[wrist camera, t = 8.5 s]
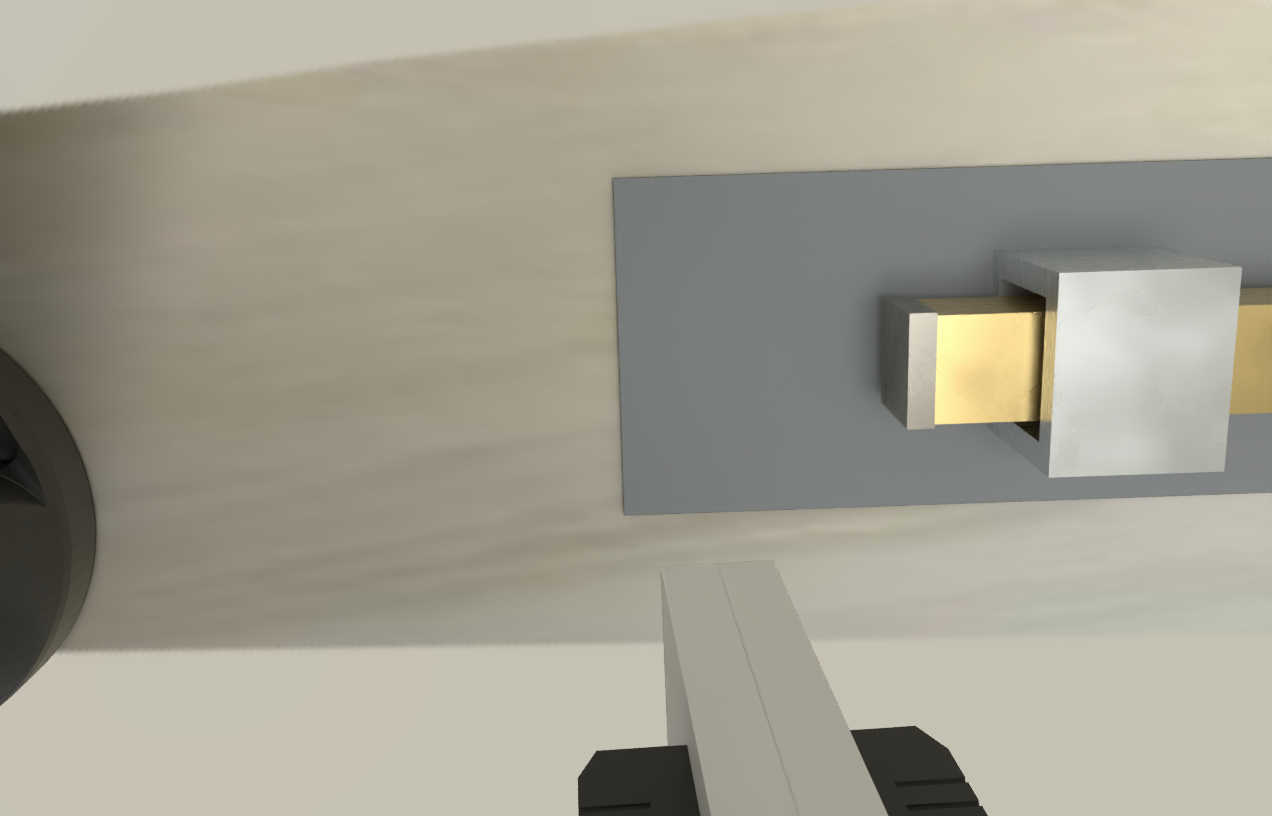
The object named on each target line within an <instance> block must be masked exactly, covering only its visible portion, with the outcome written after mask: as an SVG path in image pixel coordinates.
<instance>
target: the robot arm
mask: <svg viewBox="0 0 1272 816" xmlns="http://www.w3.org/2000/svg"><path fill="white" fill-rule="evenodd" d="M94 551H95V522H94V512H93V504H92V499H91V494H90V489H89V485H88V481H87V478H86V474H85V471H84V468H83V465H82V462H81V460H80V457H79V454H78V452H77V450H76V447H75V445H74V443H73V441H72V439H71V437H70V435H69V433H68V431H67V429H66V427H65V426H64V424H63V422H62V420H61V419H60V417H59V416H58V414H57V412H56V411H55V409H54V408H53V406H52V405H51V404H50V402H49V401H48V399H47V398H46V397H45V395H44V394H43V393H42V391H41V390H40V389H39V388H38V387H37V386H36V384H35V383H34V382H33V381H32V380H31V379H30V377H29V376H28V375H27V374H26V373H25V372H24V371H23V370H22V369H21V368H20V367H19V366H18V365H17V364H16V363H15V362H14V361H12V360H11V359H10V358H9V357H8V356H7V355H6V354H5V353H3V352H2V351H1V350H0V706H1V705H2V704H3V703H4V702H5V701H7V700H8V699H9V698H10V697H11V696H12V695H13V694H14V693H15V692H16V691H17V690H18V689H19V688H20V687H21V686H23V685H24V684H25V683H26V682H27V681H28V680H29V679H30V678H31V677H32V676H33V675H34V674H35V673H36V672H37V671H38V670H39V669H40V668H41V667H42V666H43V665H44V664H45V663H46V662H47V661H48V660H49V659H50V657H51V656H52V655H53V654H54V653H55V652H56V650H57V649H58V648H59V646H60V645H61V643H62V642H63V641H64V639H65V638H66V636H67V634H68V633H69V631H70V629H71V628H72V626H73V624H74V622H75V620H76V618H77V616H78V614H79V612H80V609H81V607H82V604H83V602H84V599H85V596H86V593H87V589H88V586H89V582H90V578H91V573H92V568H93V560H94ZM661 590H662V614H663V639H664V663H665V687H666V712H667V738H668V746H662V747H648V748H633V749H618V750H603V751H596V752H595V754H594V755H593V757H592V758H591V760H590V761H589V763H588V764H587V766H586V767H585V769H584V770H583V771H582V773H581V775H580V776H579V777H578V805H579V806H578V807H579V816H987V814H986V812H985V810H984V809H983V807H982V806H979V802H978V798H977V797H976V795H975V793H974V792H973V790H972V788H971V787H970V785H969V783H966V782H965V776H964V775H963V773H962V771H961V770H960V768H959V766H958V765H957V763H956V761H955V760H954V758H953V756H952V755H951V753H950V751H949V750H948V748H946V747H945V746H943V745H941V744H940V743H939V742H938V741H936V740H935V739H933V738H932V737H930V736H929V735H928V734H926V733H925V732H923V731H922V730H920V729H919V728H917V727H916V726H908V727H893V728H880V729H879V728H878V729H864V730H849V728H848V725H847V723H846V721H845V719H844V717H843V714H842V712H841V710H840V708H839V705H838V703H837V701H836V699H835V697H834V695H833V692H832V690H831V688H830V686H829V683H828V681H827V679H826V677H825V675H824V672H823V670H822V668H821V666H820V664H819V661H818V659H817V657H816V655H815V652H814V650H813V648H812V646H811V643H810V641H809V639H808V637H807V635H806V632H805V630H804V628H803V626H802V624H801V621H800V619H799V617H798V615H797V612H796V610H795V608H794V606H793V604H792V601H791V599H790V597H789V595H788V593H787V590H786V588H785V586H784V584H783V582H782V579H781V577H780V575H779V573H778V570H777V568H776V566H775V564H774V562H773V560H765V561H748V562H732V563H716V564H699V565H683V566H667V567H661Z"/></svg>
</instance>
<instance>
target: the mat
mask: <svg viewBox="0 0 1272 816" xmlns="http://www.w3.org/2000/svg"><path fill="white" fill-rule="evenodd" d="M613 189H614V219H615V249H616V279H617V309H618V339H619V369H620V399H621V430H622V460H623V490H624V516H627V515H655V514H683V513H712V512H740V511H768V510H796V509H824V508H853V507H881V506H909V505H937V504H965V503H993V502H1022V501H1050V500H1078V499H1106V498H1134V497H1163V496H1191V495H1219V494H1247V493H1272V413H1252V414H1229V422H1228V434H1227V445H1226V456H1225V468H1224V472H1197V473H1168V474H1140V475H1111V476H1083V477H1055V478H1048V477H1047V476H1046V475H1045V474H1044V473H1042V472H1041V471H1040V470H1039V469H1037V468H1036V467H1035V466H1034V465H1033V464H1031V463H1030V462H1029V461H1028V460H1026V459H1025V458H1024V457H1023V456H1022V455H1020V454H1019V453H1018V452H1017V451H1016V450H1014V449H1013V448H1012V447H1011V446H1009V445H1008V444H1007V443H1006V442H1005V441H1003V440H1002V439H1001V438H1000V437H998V436H997V435H996V434H995V433H994V432H992V431H991V430H990V429H989V428H987V423H962V424H935V425H934V429H910V430H907V429H906V428H905V427H904V426H903V425H902V424H901V423H900V422H899V421H898V420H897V419H896V418H895V417H894V416H893V414H892V413H891V412H890V411H889V410H888V409H887V408H886V407H885V406H884V405H883V404H882V403H881V385H882V331H883V296H907V295H909V296H911V297H912V298H914V299H928V298H959V297H989V296H992V295H993V270H994V250H1019V249H1050V248H1081V247H1112V246H1143V245H1152V246H1156V247H1160V248H1164V249H1169V250H1173V251H1177V252H1181V253H1185V254H1190V255H1194V256H1198V257H1202V258H1206V259H1211V260H1215V261H1219V262H1223V263H1227V264H1232V265H1236V266H1240V267H1242V275H1241V286H1240V288H1264V287H1272V158H1249V159H1217V160H1185V161H1152V162H1120V163H1088V164H1056V165H1023V166H991V167H959V168H927V169H894V170H862V171H830V172H798V173H766V174H733V175H701V176H669V177H637V178H613Z"/></svg>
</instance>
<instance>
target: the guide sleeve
mask: <svg viewBox="0 0 1272 816" xmlns="http://www.w3.org/2000/svg"><path fill="white" fill-rule="evenodd" d="M1241 275H1242V267H1240V266H1236V265H1232V264H1227V263H1223V262H1219V261H1215V260H1211V259H1206V258H1202V257H1198V256H1194V255H1190V254H1185V253H1181V252H1177V251H1173V250H1169V249H1164V248H1160V247H1156V246H1152V245H1143V246H1112V247H1081V248H1050V249H1019V250H994V270H993V295H992V296H1020V295H1042V296H1044V297H1046V315H1045V335H1044V354H1043V374H1042V394H1041V414H1040V421H1020V422H991V423H987V428H989V429H990V430H991V431H992V432H994V433H995V434H996V435H997V436H998V437H1000V438H1001V439H1002V440H1003V441H1005V442H1006V443H1007V444H1008V445H1009V446H1011V447H1012V448H1013V449H1014V450H1016V451H1017V452H1018V453H1019V454H1020V455H1022V456H1023V457H1024V458H1025V459H1026V460H1028V461H1029V462H1030V463H1031V464H1033V465H1034V466H1035V467H1036V468H1037V469H1039V470H1040V471H1041V472H1042V473H1044V474H1045V475H1046V476H1047V477H1048V478H1055V477H1083V476H1111V475H1140V474H1168V473H1197V472H1224V468H1225V456H1226V445H1227V434H1228V422H1229V411H1230V400H1231V388H1232V377H1233V366H1234V354H1235V343H1236V332H1237V320H1238V309H1239V298H1240V286H1241Z"/></svg>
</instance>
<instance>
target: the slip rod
mask: <svg viewBox="0 0 1272 816" xmlns="http://www.w3.org/2000/svg"><path fill="white" fill-rule="evenodd" d="M1045 315H1046V297H1044V296H1042V295H1020V296H989V297H959V298H928V299H914V298H912V297H911V296H909V295H907V296H883V331H882V385H881V403H882V404H883V405H884V406H885V407H886V408H887V409H888V410H889V411H890V412H891V413H892V414H893V416H894V417H895V418H896V419H897V420H898V421H899V422H900V423H901V424H902V425H903V426H904V427H905V428H906V429H907V430H910V429H934V425H935V424H962V423H991V422H1020V421H1040V414H1041V394H1042V374H1043V354H1044V335H1045ZM1252 413H1272V287H1264V288H1240V298H1239V309H1238V320H1237V332H1236V343H1235V354H1234V366H1233V377H1232V388H1231V400H1230V411H1229V414H1252Z"/></svg>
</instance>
